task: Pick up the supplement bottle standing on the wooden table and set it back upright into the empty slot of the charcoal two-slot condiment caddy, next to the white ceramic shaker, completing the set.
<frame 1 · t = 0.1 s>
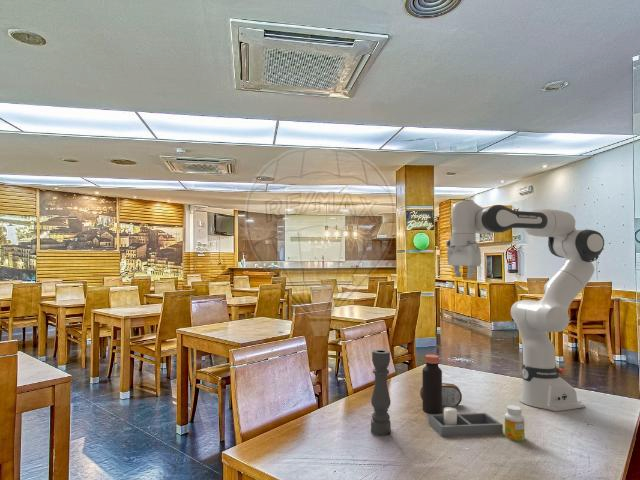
hand: (463, 277, 155), 48 cm above the table, tool pointing down, fingers open, 8 cm apart
tin: (441, 407, 151), on the table
candle holder: (380, 432, 128), on the table
caddy: (464, 430, 129), on the table
shaker: (450, 428, 129), point 1 cm above the table, touching caddy
vinegar: (432, 413, 145), on the table
supplement bottle: (514, 440, 123), on the table
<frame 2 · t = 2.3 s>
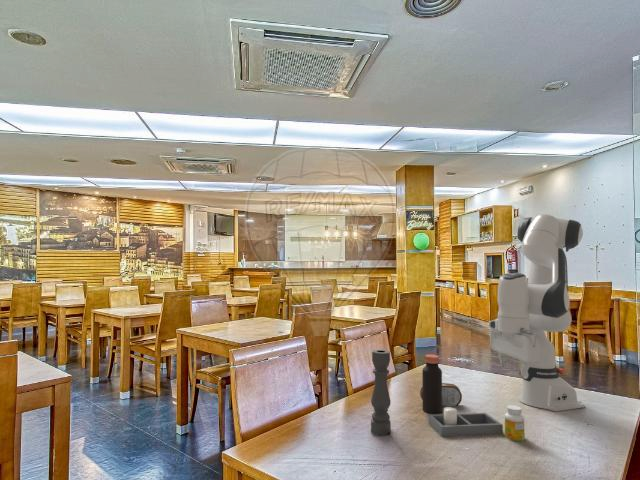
hand: (513, 371, 124), 20 cm above the table, tool pointing down, fingers open, 8 cm apart
nothing on the table moved.
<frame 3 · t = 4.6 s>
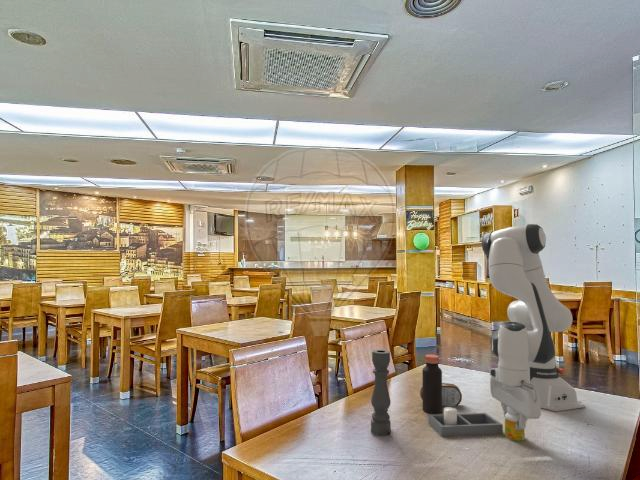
hand: (514, 422, 123), 5 cm above the table, tool pointing down, fingers closed on supplement bottle, 5 cm apart
supplement bottle: (514, 440, 123), on the table, touching gripper
everything else where it was.
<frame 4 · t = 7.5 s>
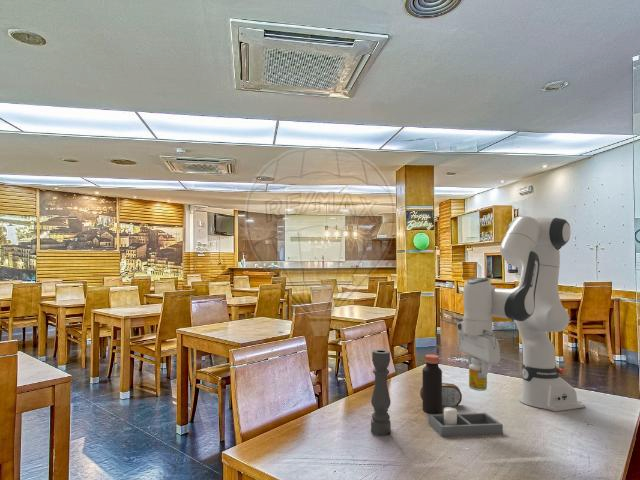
hand: (478, 371, 131), 19 cm above the table, tool pointing down, fingers closed on supplement bottle, 5 cm apart
supplement bottle: (477, 389, 131), point 13 cm above the table, touching gripper
everything else where it was.
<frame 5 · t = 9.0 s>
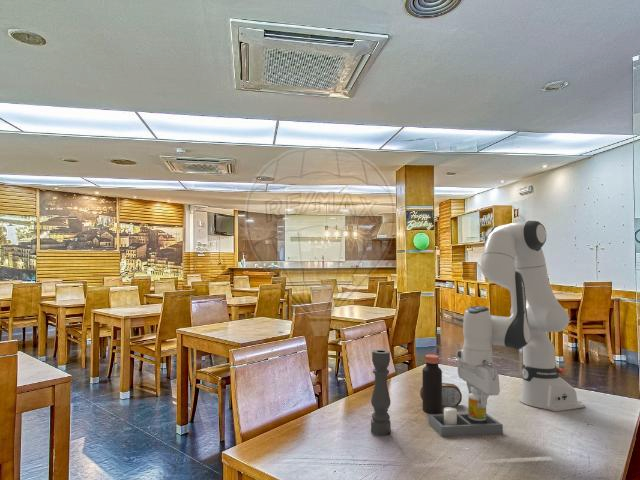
hand: (477, 400, 131), 9 cm above the table, tool pointing down, fingers closed on supplement bottle, 5 cm apart
supplement bottle: (477, 418, 130), point 4 cm above the table, touching gripper
everything else where it was.
when the fingers open (7 cm above the table, at t = 10.3 s): supplement bottle stays where it is, resting on caddy.
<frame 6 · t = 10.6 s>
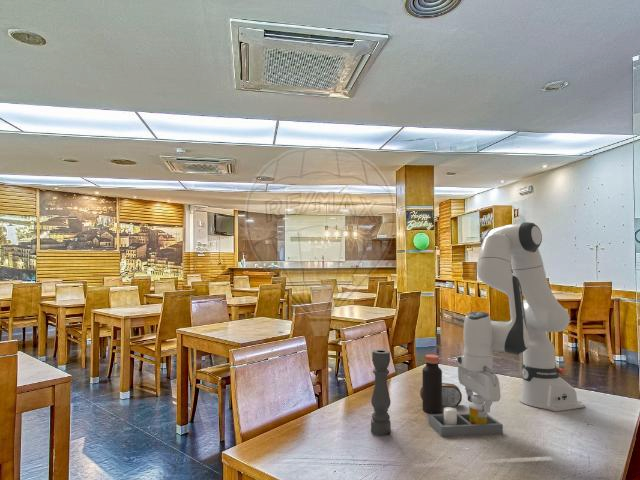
hand: (478, 406, 130), 7 cm above the table, tool pointing down, fingers open, 8 cm apart
supplement bottle: (478, 428, 130), point 1 cm above the table, touching caddy
everything else where it was.
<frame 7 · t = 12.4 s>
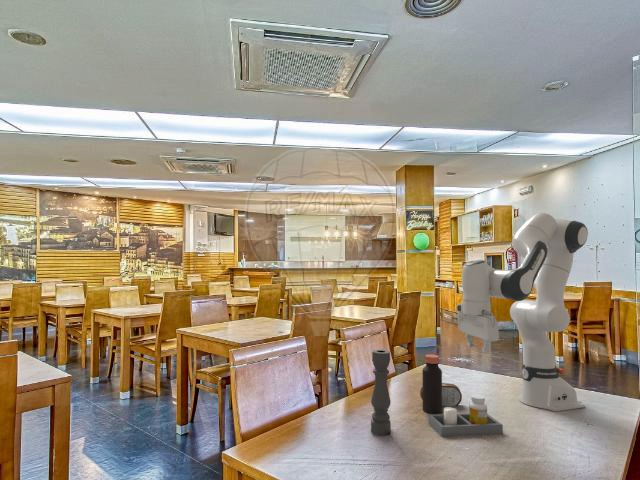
hand: (478, 350, 136), 24 cm above the table, tool pointing down, fingers open, 8 cm apart
nothing on the table moved.
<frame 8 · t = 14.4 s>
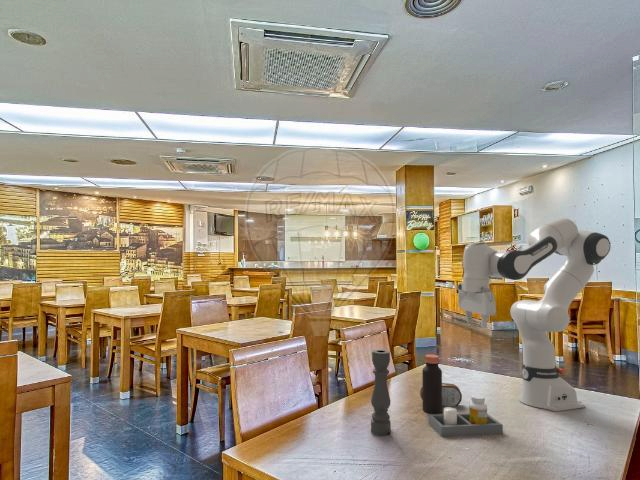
hand: (476, 325, 146), 31 cm above the table, tool pointing down, fingers open, 8 cm apart
nothing on the table moved.
at the end: supplement bottle inside the target area on the caddy (0.1 cm from its centre), point 0.6 cm above the caddy's base; supplement bottle tilted 0°; the gripper is holding nothing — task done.
